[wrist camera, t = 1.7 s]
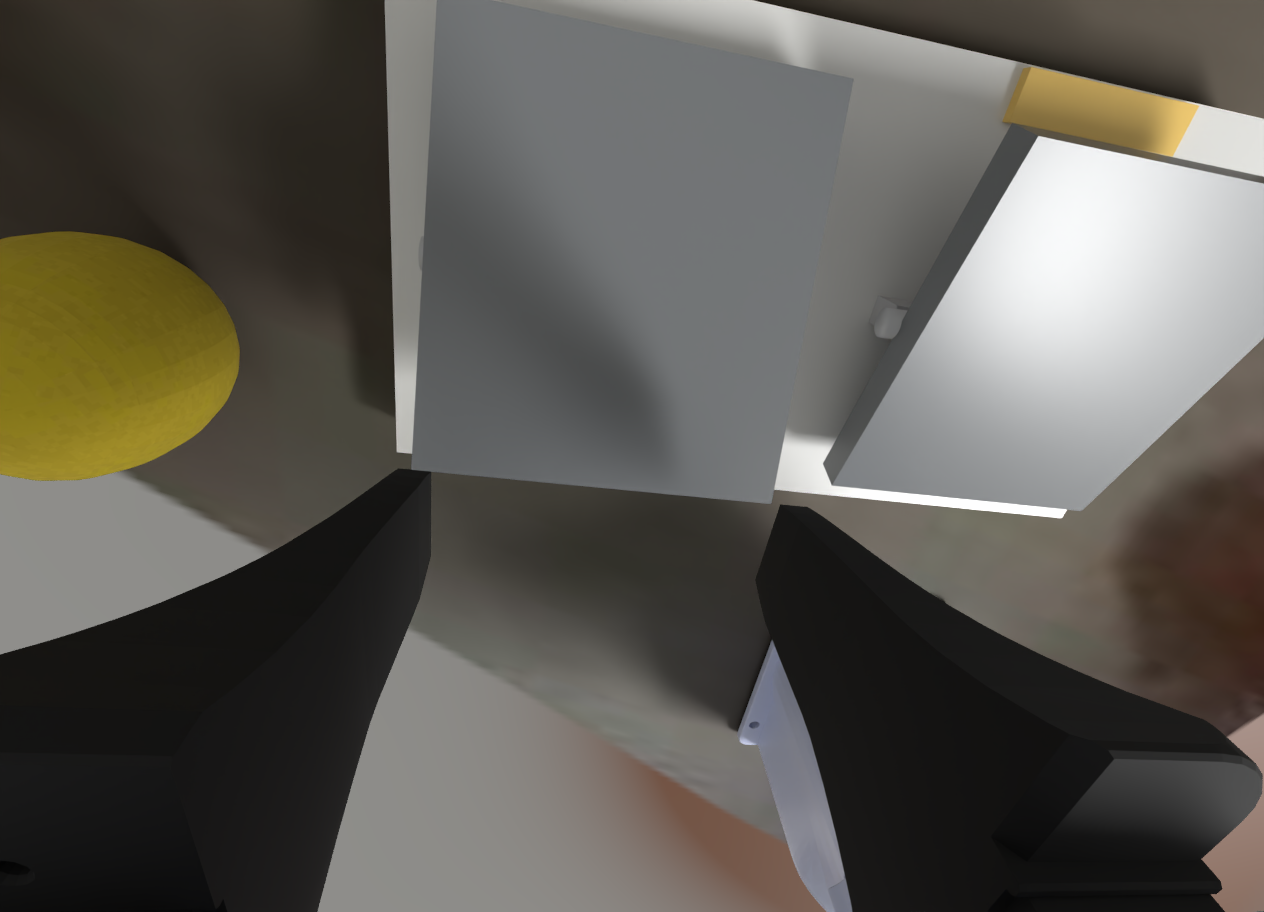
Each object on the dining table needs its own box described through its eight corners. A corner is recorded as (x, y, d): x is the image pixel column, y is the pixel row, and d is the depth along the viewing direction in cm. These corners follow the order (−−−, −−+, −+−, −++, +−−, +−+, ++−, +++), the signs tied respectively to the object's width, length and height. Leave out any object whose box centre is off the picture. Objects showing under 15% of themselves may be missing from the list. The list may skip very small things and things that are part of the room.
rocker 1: (759, 486, 17) (781, 505, 15) (415, 452, 15) (398, 468, 14) (831, 108, 15) (866, 81, 13) (438, 26, 13) (422, -16, 12)
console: (1025, 490, 24) (1086, 537, 21) (412, 425, 20) (386, 470, 17) (1226, 128, 18) (1348, 125, 15) (406, -57, 14) (364, -108, 11)
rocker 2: (1059, 476, 21) (1089, 511, 19) (808, 448, 19) (822, 484, 18) (1335, 188, 14) (1407, 213, 13) (983, 111, 13) (1025, 133, 11)
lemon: (78, 354, 18) (-243, 489, 11) (93, 177, 16) (-294, 203, 9) (268, 421, 19) (94, 577, 12) (305, 269, 17) (122, 353, 10)
